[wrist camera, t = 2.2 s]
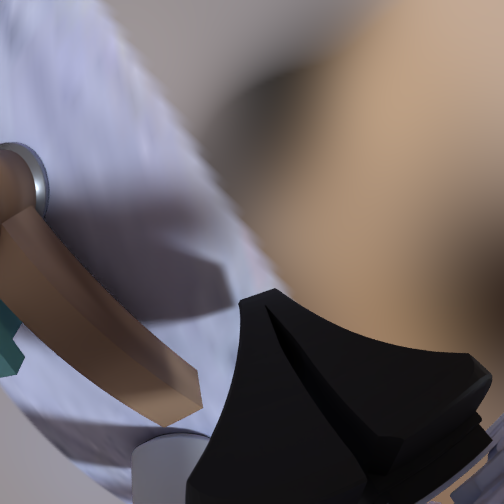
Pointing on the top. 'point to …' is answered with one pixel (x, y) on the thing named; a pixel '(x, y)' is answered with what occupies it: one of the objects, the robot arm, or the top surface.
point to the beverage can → (165, 467)
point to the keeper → (9, 342)
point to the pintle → (33, 173)
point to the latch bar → (83, 311)
